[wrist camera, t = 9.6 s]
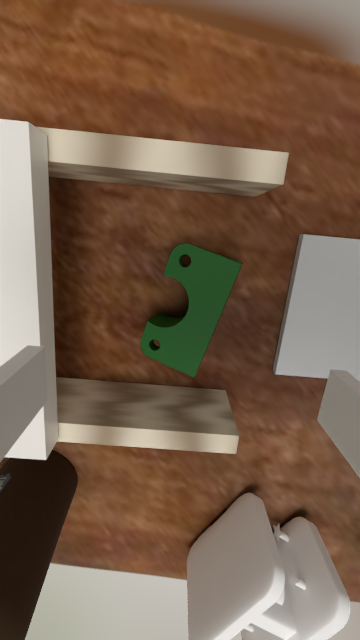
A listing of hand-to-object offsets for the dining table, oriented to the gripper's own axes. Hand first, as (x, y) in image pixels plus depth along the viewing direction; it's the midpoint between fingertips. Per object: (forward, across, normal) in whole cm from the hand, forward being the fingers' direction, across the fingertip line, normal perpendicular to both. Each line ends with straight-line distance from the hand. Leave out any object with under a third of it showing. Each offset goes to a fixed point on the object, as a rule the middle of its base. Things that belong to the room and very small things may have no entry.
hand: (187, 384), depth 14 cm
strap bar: (+10, +12, 0) cm, 16 cm away
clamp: (+19, -1, 0) cm, 19 cm away
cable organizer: (+18, -12, +32) cm, 39 cm away
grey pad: (+18, -18, 0) cm, 26 cm away
